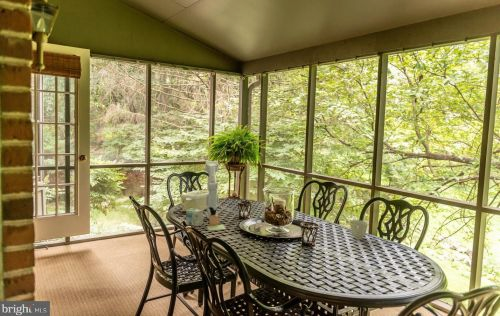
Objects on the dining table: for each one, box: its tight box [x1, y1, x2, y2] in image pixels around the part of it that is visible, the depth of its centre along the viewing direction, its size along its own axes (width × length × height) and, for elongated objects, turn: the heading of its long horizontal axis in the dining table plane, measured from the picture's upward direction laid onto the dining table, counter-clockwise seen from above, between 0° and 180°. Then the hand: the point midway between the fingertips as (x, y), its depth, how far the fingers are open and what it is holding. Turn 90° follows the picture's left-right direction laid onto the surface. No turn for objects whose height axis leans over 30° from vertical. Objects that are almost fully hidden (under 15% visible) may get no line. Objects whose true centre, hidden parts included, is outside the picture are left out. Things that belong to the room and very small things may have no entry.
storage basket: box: [180, 189, 209, 212], centre depth 298 cm, size 24×16×15 cm
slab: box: [209, 214, 220, 226], centre depth 254 cm, size 3×6×7 cm, turn 108°
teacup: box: [348, 219, 369, 240], centre depth 225 cm, size 12×15×10 cm
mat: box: [205, 224, 227, 232], centre depth 247 cm, size 10×12×1 cm
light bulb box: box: [185, 208, 204, 227], centre depth 255 cm, size 11×7×11 cm, turn 68°
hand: (213, 217), depth 256 cm, fingers closed
